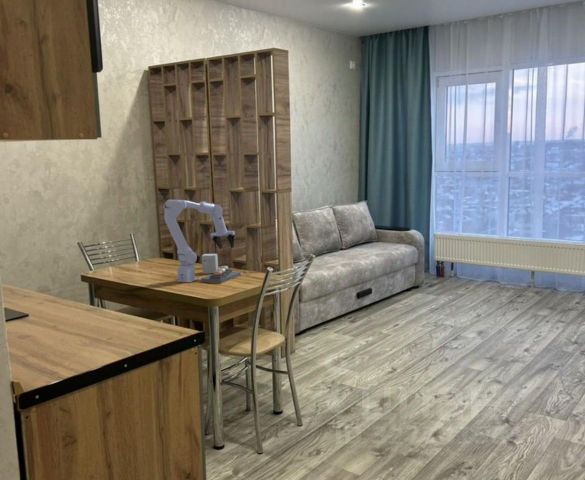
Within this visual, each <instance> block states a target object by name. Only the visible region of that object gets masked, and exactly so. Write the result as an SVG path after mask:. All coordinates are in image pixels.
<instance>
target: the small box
mask: <svg viewBox="0 0 585 480" xmlns="http://www.w3.org/2000/svg"><path fill="white" fill-rule="evenodd" d="M218 257H219V256H218V253H204V254H202V255H201V265H202V267H201V268H202V275H203V274H208V275H212V273H214V271H217V269H219V261H218V259H219V258H218Z"/></svg>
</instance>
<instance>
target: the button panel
mask: <svg viewBox="0 0 585 480" xmlns="http://www.w3.org/2000/svg"><path fill="white" fill-rule="evenodd" d="M241 275H242V273H241V271H233V269H230V268H228V270H226V271H225V273H222V275H220V276H214V273H213V274H208V275H207V276H204V277H200V280H201V281H200V282H201V283H208V282H209V283H210V284H223V282H224V283H226V282H229V281H231V280H234V279H236V278H239V277H240V276H241ZM238 276H239V277H238ZM235 277H236V278H235ZM233 278H234V279H233ZM230 279H231V280H230ZM228 280H229V281H228ZM225 281H226V282H225ZM209 283H208V284H209Z"/></svg>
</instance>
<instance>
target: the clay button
mask: <svg viewBox="0 0 585 480" xmlns="http://www.w3.org/2000/svg"><path fill="white" fill-rule="evenodd" d="M220 275H222V271H214V276H220Z"/></svg>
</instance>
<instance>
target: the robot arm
mask: <svg viewBox="0 0 585 480" xmlns="http://www.w3.org/2000/svg"><path fill="white" fill-rule="evenodd" d="M186 208H188V209H195V210H197V212H199V213H203V214H208V215H211V219H212V223H213V225H214V230H215V231H216V232H212V233H210V235H209V236H210V237H211V238H212V239H211V240H212V241H213V242H214V243H215V244H216V245H217V247H218V249H220V250H221V249H222V248H223V243H222V239H221V237H225V236H226V239H227V241H228V243H229V245H230V249H231V248H234V247H235V235H236V232H235V230H228V229H227V227H226V224H225V220H224V216H223V211H224V210H223V207H221V205H219V204H214V203H213V202H210V203H209V202H207V201H205V200H203V201H200V202H199V203H197V202H194V201H191V200H186V199H172V198H171V199H167V200H166V201H165V203H164V204H163V211H164V215H163V216H164V217H163V219H164V221H165V225H166V226H167V228H168V231H169V233H170V235H171V237H172V239H173V241H174V243H175V246H176V248H177V251H176V252H177V258H178V261H179V262H180V266H178V268H177V270H176V271H177V280H176V282H178V283H191V282H194V281H197V280H199V277H196V268H195V267H196V266H195V263H196V262H197V259H198V258H197V254H196V253H195V252H194V251H193V249H192V248H191V247H190V246H189V245H188V242H187V240H186V238H185V236H184V234H183V232H182V230H181V228H180V225H179V223H178V220H177V218H178V216H179V215H180V214H181V213H182V211H183V210H185V209H186Z"/></svg>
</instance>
